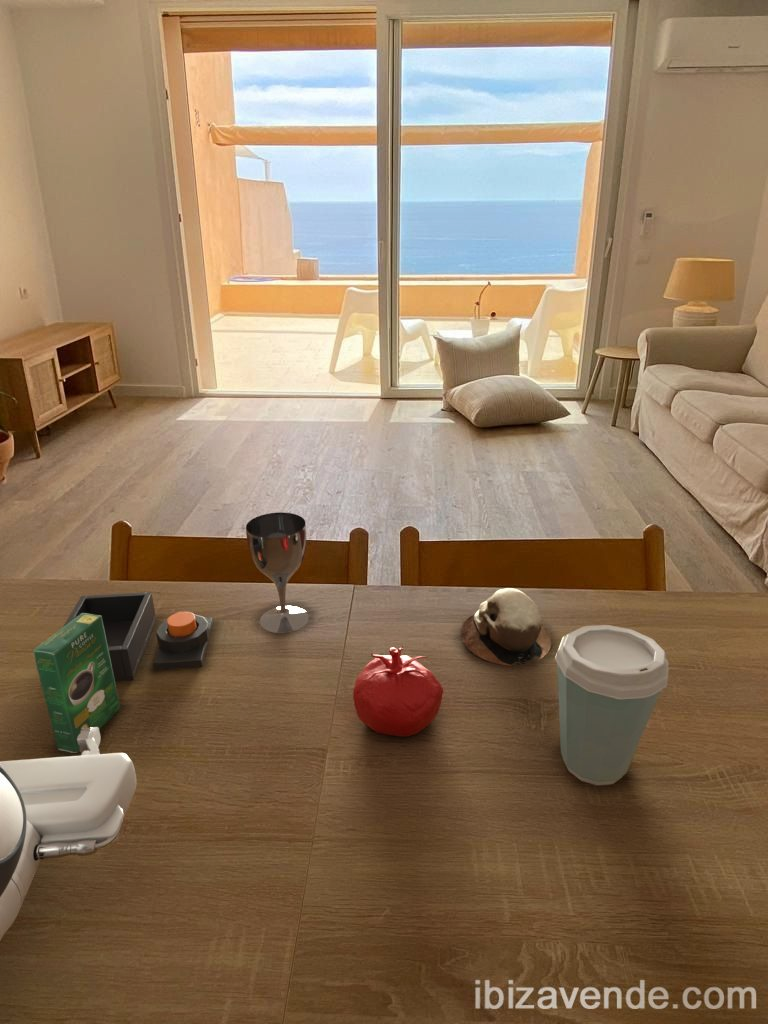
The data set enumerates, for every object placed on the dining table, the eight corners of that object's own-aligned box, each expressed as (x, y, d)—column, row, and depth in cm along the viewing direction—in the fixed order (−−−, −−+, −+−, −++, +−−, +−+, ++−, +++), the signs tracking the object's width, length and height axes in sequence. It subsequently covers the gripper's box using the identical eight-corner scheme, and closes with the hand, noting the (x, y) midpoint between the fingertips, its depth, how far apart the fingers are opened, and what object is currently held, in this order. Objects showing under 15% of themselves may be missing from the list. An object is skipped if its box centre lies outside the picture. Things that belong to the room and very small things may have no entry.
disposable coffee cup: (525, 742, 76) (535, 627, 70) (606, 717, 79) (623, 605, 73) (583, 816, 67) (601, 690, 60) (673, 784, 70) (698, 662, 64)
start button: (166, 638, 90) (164, 627, 90) (171, 623, 94) (169, 612, 93) (194, 636, 91) (192, 625, 90) (198, 621, 94) (196, 610, 93)
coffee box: (103, 702, 83) (81, 609, 78) (123, 707, 82) (103, 613, 77) (55, 750, 76) (28, 650, 71) (77, 755, 75) (51, 655, 70)
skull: (437, 622, 95) (481, 562, 95) (483, 650, 101) (525, 593, 101) (485, 668, 85) (534, 601, 85) (533, 696, 91) (580, 633, 91)
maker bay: (54, 686, 86) (46, 654, 84) (87, 624, 98) (81, 595, 96) (133, 680, 87) (127, 649, 85) (156, 620, 99) (151, 591, 97)
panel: (152, 670, 88) (148, 651, 87) (168, 626, 98) (165, 608, 96) (204, 667, 89) (201, 648, 88) (215, 624, 98) (212, 605, 97)
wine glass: (244, 620, 99) (233, 525, 92) (289, 598, 104) (281, 507, 98) (279, 642, 94) (269, 543, 87) (323, 619, 99) (318, 524, 92)
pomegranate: (413, 762, 73) (413, 691, 70) (337, 727, 78) (333, 660, 75) (457, 708, 81) (459, 642, 77) (384, 680, 86) (383, 616, 82)
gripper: (106, 822, 53) (147, 702, 66) (-176, 844, 52) (-79, 717, 64) (120, 879, 56) (157, 753, 68) (-148, 901, 54) (-60, 769, 67)
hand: (41, 736), depth 66 cm, fingers open, 8 cm apart
